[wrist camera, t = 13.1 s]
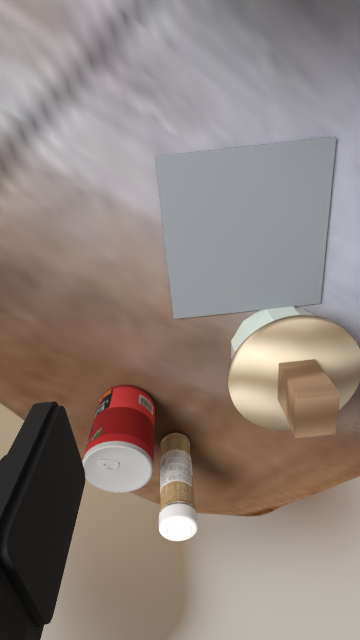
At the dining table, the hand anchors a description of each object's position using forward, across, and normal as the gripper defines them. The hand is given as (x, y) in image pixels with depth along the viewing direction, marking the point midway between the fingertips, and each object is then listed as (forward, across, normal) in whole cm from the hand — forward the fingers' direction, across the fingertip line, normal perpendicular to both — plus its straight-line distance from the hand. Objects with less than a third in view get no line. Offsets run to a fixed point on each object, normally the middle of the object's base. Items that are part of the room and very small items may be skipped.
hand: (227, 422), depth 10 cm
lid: (+24, -11, +17) cm, 32 cm away
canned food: (+31, +10, +24) cm, 40 cm away
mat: (+30, -7, +2) cm, 31 cm away
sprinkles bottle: (+31, +4, +32) cm, 44 cm away
